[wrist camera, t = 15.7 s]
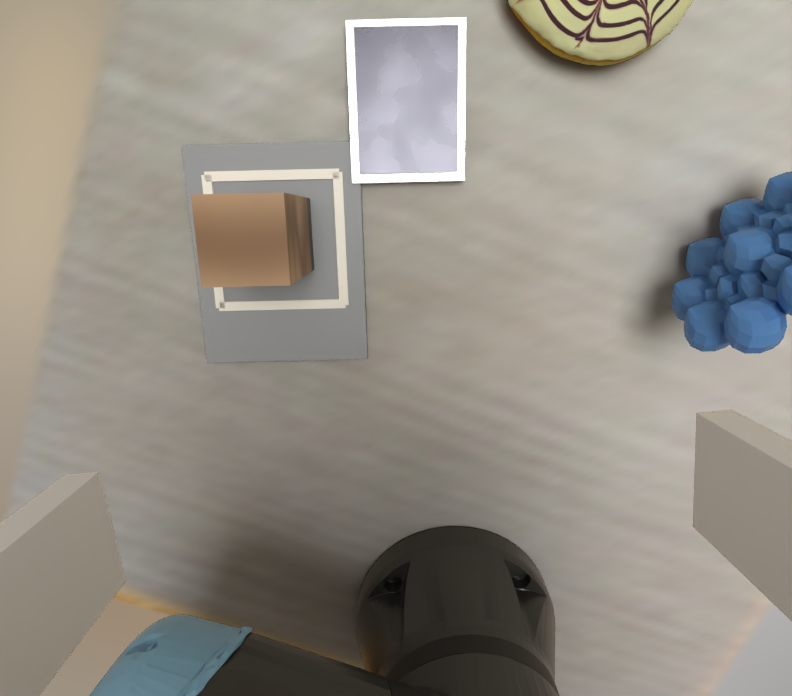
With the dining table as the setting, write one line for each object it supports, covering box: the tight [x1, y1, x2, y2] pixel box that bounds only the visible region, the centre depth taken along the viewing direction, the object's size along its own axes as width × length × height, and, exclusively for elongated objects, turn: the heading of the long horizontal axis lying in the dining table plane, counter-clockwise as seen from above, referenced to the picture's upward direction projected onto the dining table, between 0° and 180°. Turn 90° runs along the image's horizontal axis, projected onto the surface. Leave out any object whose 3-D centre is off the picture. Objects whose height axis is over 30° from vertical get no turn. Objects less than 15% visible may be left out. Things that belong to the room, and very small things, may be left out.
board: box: [181, 141, 368, 363], centre depth 34 cm, size 14×11×1 cm
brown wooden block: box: [191, 192, 314, 288], centre depth 29 cm, size 4×4×8 cm
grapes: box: [671, 172, 792, 353], centre depth 28 cm, size 12×7×12 cm, turn 145°
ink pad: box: [345, 17, 466, 184], centre depth 31 cm, size 9×7×1 cm
